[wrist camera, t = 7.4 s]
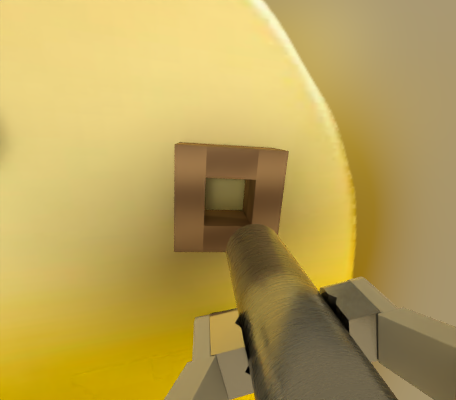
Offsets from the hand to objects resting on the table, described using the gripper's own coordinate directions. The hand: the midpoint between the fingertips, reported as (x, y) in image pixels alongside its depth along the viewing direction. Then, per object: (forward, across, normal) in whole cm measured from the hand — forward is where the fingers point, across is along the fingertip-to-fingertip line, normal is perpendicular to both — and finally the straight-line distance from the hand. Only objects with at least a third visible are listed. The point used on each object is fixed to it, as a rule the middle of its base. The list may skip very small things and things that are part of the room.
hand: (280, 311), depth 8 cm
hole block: (+19, 0, 0) cm, 19 cm away
